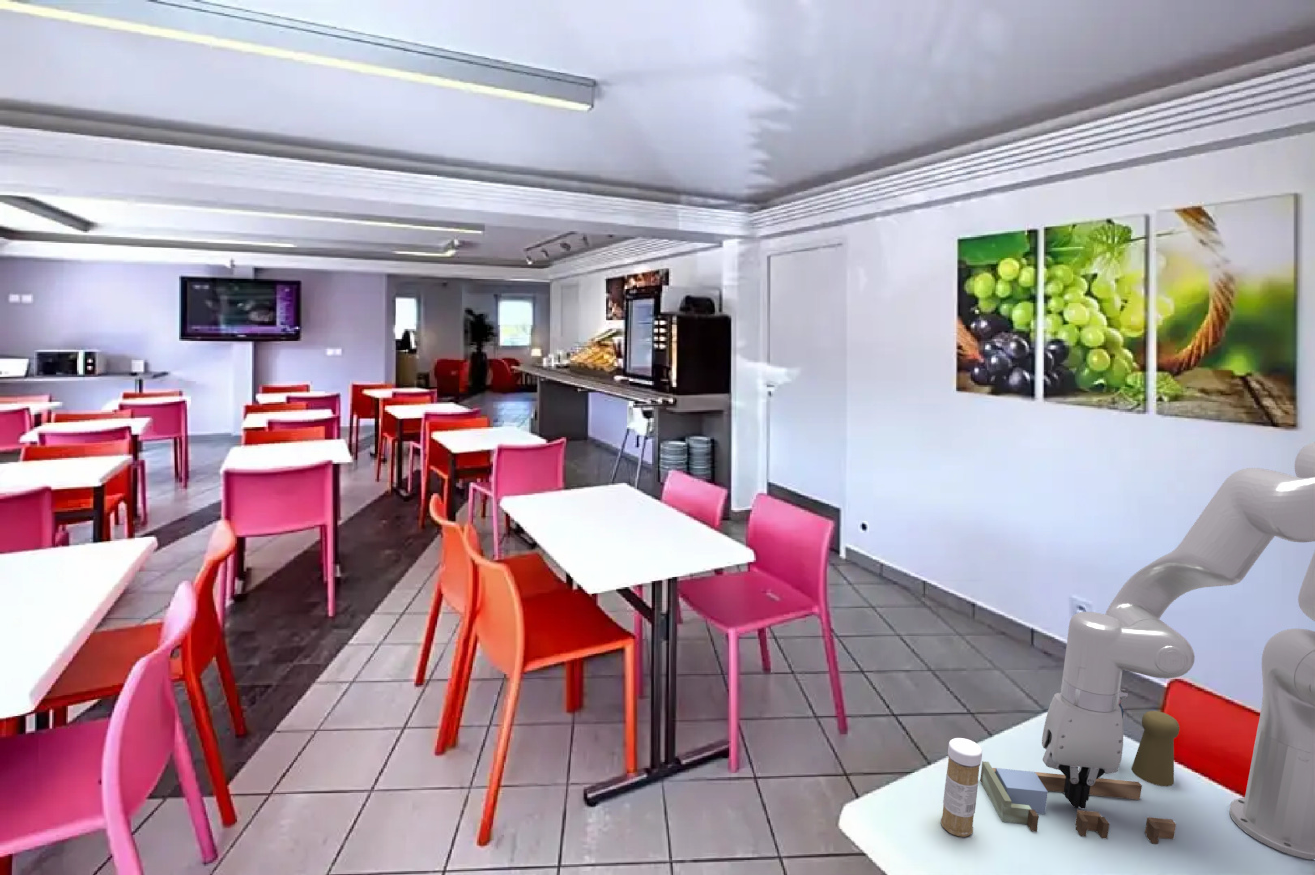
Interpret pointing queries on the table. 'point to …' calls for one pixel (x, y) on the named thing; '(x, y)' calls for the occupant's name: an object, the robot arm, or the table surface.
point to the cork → (1156, 749)
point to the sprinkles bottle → (961, 786)
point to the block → (1024, 788)
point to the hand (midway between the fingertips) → (1075, 802)
